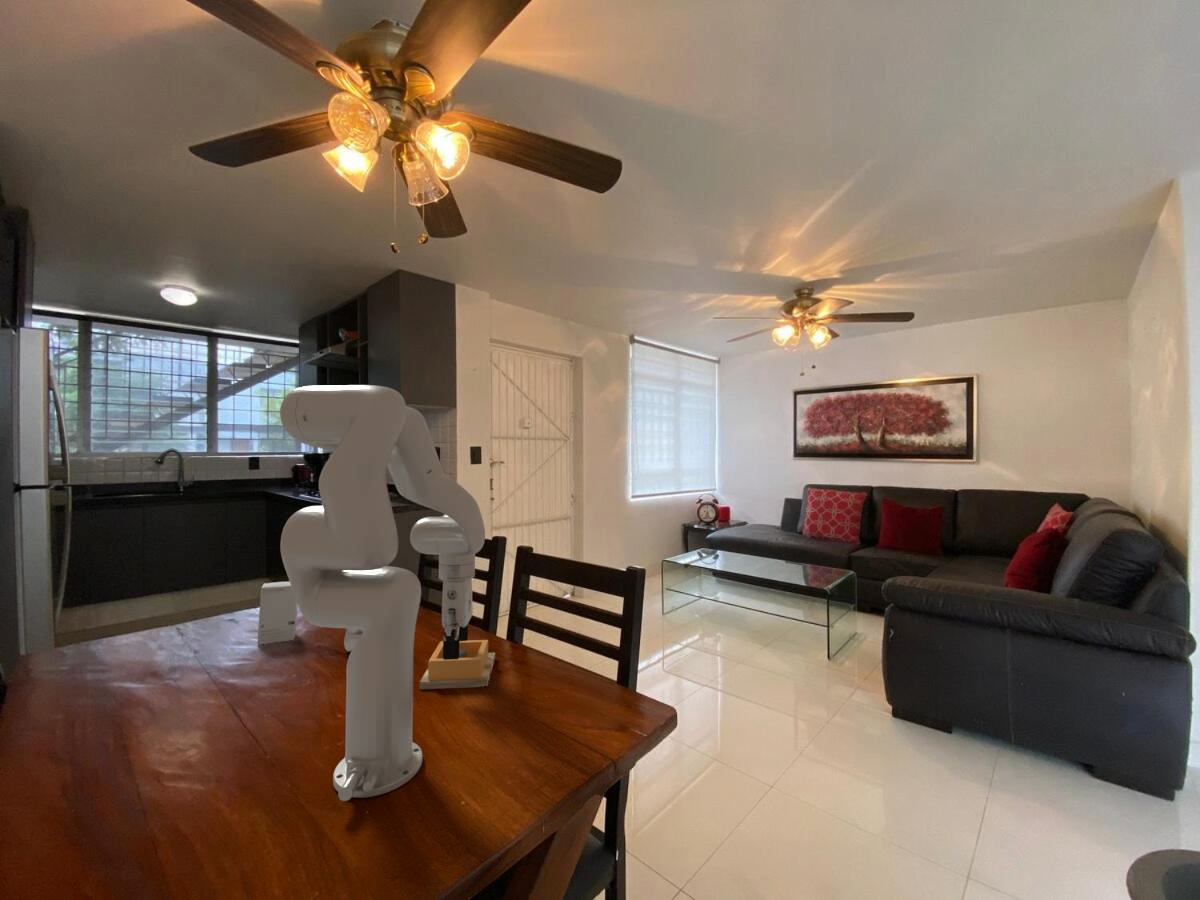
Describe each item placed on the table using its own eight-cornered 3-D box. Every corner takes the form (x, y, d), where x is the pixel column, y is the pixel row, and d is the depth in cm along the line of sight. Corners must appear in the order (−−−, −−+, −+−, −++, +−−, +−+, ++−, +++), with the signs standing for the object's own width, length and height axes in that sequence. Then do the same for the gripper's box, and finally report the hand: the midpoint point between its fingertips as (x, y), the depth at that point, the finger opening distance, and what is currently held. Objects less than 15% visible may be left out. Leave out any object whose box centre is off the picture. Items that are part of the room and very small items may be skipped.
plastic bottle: (378, 645, 122) (379, 568, 123) (362, 656, 116) (363, 574, 116) (354, 644, 123) (355, 567, 123) (337, 655, 116) (339, 573, 117)
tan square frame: (480, 678, 101) (480, 659, 101) (428, 680, 100) (428, 661, 100) (487, 656, 112) (488, 639, 112) (440, 658, 111) (440, 641, 111)
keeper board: (487, 686, 101) (487, 665, 101) (419, 689, 99) (419, 667, 100) (495, 658, 115) (495, 640, 115) (435, 660, 113) (436, 641, 113)
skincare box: (257, 646, 121) (258, 588, 121) (261, 638, 127) (262, 582, 127) (295, 640, 125) (296, 584, 125) (298, 633, 130) (299, 579, 131)
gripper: (467, 580, 94) (466, 666, 94) (480, 561, 112) (479, 634, 111) (428, 581, 94) (427, 667, 93) (448, 561, 111) (447, 635, 111)
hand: (456, 649), depth 102 cm, fingers open, 9 cm apart
